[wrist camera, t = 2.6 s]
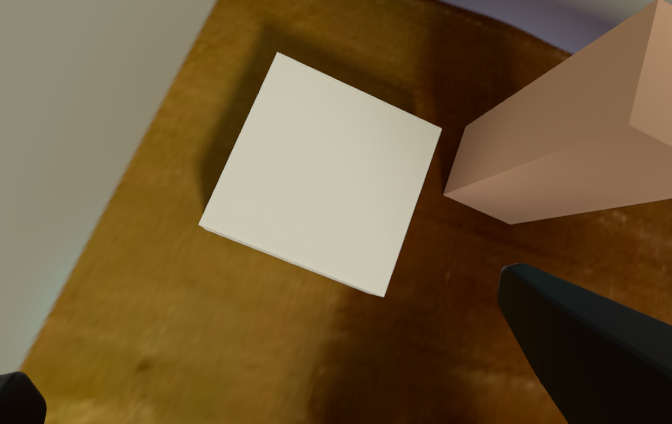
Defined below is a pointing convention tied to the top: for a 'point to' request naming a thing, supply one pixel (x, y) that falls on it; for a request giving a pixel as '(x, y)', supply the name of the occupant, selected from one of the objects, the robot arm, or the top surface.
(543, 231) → the top surface
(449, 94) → the top surface
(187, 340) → the top surface
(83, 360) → the top surface
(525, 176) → the terracotta block
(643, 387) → the robot arm
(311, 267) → the block
